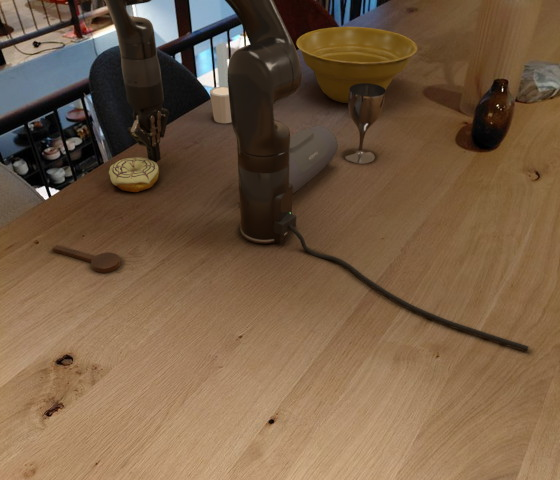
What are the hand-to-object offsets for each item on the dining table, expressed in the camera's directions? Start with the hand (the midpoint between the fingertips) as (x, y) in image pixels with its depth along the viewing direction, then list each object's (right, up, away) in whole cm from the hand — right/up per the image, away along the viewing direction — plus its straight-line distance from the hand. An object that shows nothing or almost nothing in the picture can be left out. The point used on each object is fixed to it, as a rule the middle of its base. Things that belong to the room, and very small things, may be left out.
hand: (155, 160), depth 127 cm
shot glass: (+14, +19, +22) cm, 32 cm away
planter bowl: (+48, +31, +34) cm, 67 cm away
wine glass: (+47, +3, +7) cm, 48 cm away
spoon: (-8, -27, -23) cm, 36 cm away
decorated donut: (-4, -6, -3) cm, 7 cm away
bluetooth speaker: (+32, +1, -10) cm, 33 cm away
